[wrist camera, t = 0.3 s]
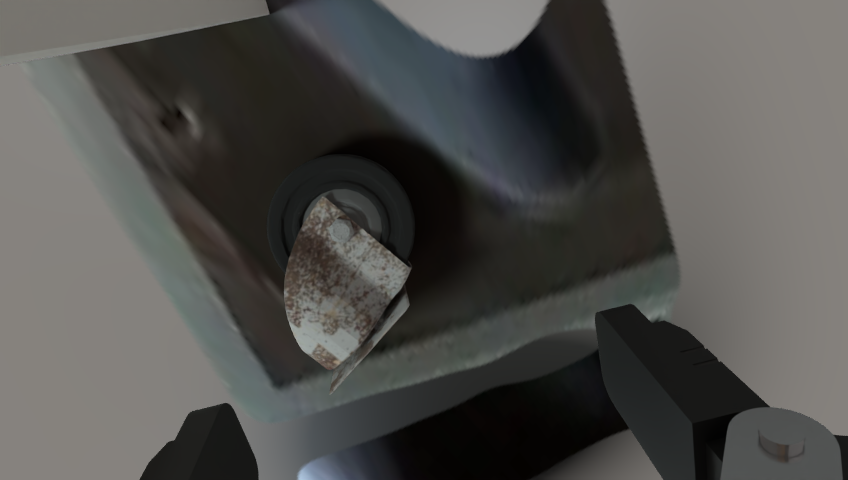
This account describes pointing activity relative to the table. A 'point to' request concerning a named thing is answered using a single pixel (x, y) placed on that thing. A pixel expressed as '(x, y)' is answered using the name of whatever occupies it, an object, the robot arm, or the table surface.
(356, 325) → the grey speckled two-tone part
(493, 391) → the table surface
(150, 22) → the plinth
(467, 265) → the table surface
